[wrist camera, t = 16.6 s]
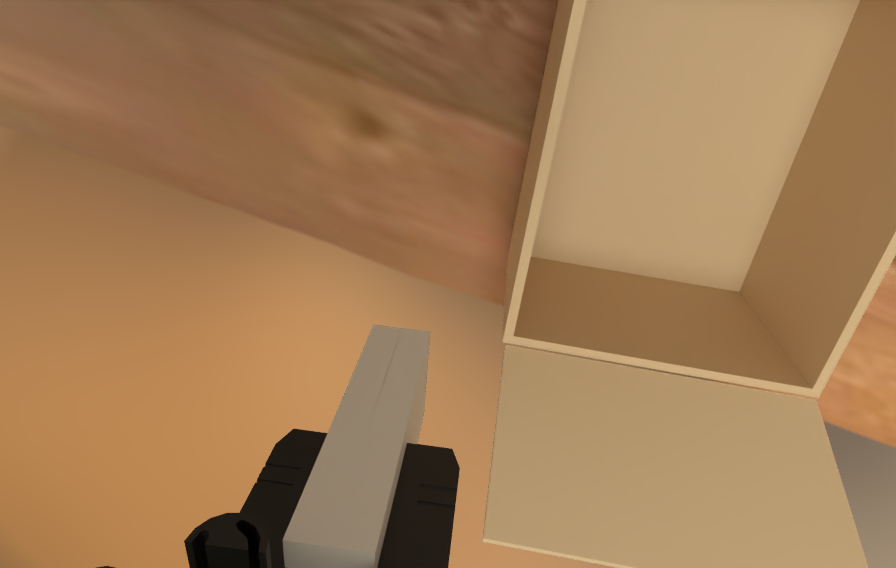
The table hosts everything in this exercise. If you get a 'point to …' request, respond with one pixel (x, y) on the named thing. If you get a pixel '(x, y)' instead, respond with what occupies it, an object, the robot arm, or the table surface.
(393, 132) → the table surface
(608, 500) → the flap
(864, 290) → the carton
